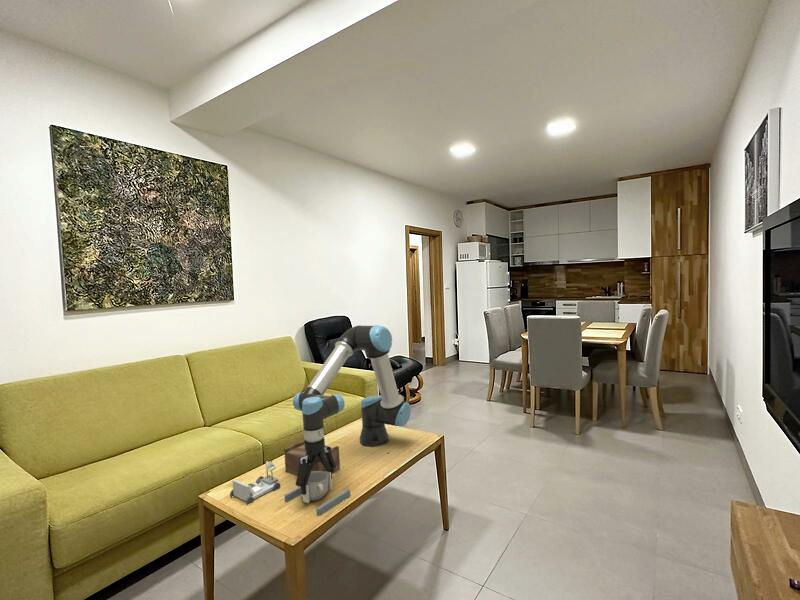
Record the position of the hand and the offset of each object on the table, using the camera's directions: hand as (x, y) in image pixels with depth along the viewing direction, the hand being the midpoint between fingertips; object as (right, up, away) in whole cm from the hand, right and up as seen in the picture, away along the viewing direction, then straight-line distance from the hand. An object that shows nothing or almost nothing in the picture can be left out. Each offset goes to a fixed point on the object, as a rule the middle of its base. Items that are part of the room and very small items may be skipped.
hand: (317, 494), depth 154 cm
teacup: (-1, -1, -1) cm, 1 cm away
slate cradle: (0, -1, 0) cm, 1 cm away
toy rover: (-26, -3, +8) cm, 27 cm away
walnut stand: (-7, -1, +24) cm, 25 cm away
